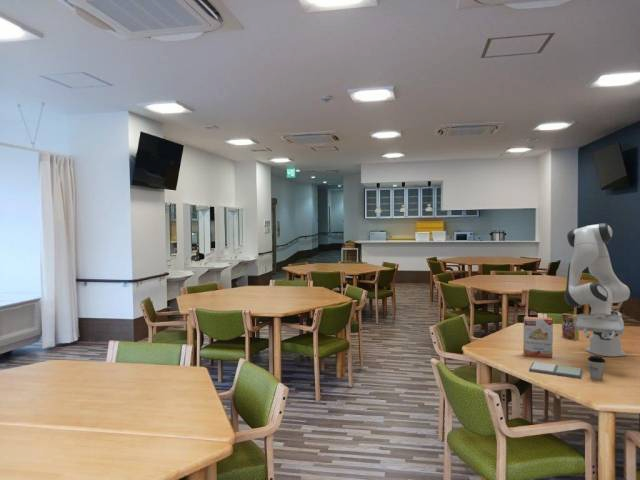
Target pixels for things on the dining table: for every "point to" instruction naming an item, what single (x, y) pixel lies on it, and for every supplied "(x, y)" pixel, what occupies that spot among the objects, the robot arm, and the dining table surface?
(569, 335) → the candy box
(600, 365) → the coffee cup
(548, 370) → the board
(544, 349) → the cracker box
